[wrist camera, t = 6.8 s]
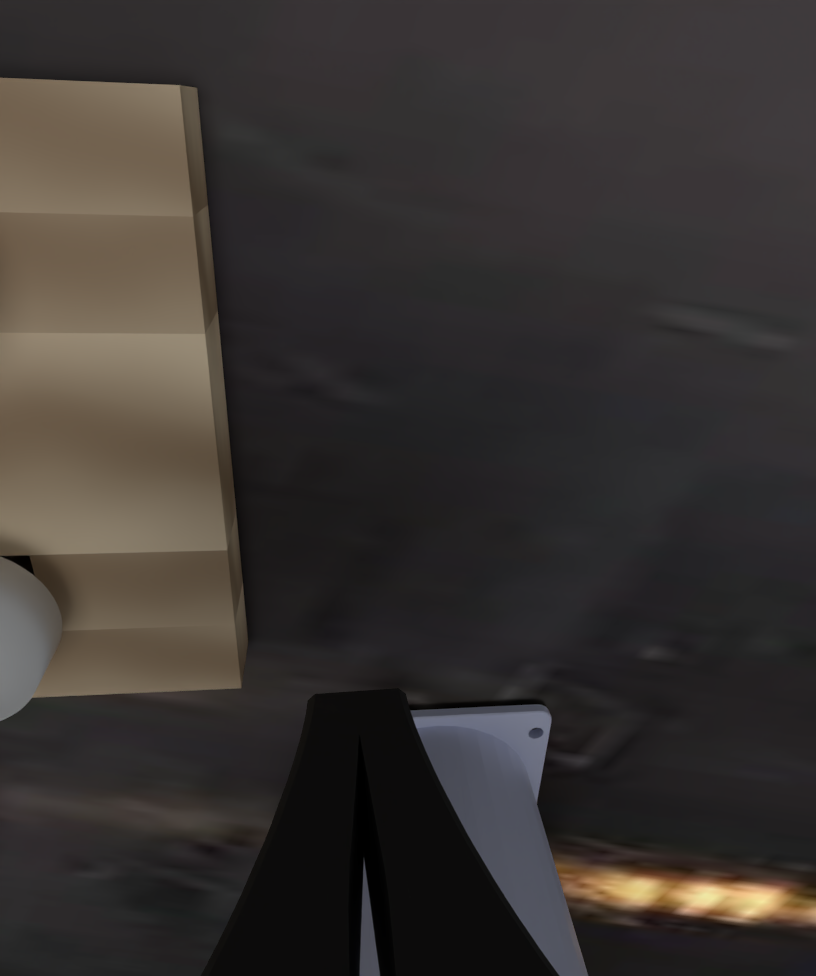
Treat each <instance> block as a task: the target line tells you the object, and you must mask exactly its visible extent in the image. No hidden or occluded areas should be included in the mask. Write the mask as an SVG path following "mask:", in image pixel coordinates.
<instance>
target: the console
mask: <svg viewBox="0 0 816 976" xmlns="http://www.w3.org/2000/svg"><path fill="white" fill-rule="evenodd" d="M18 555H29V556H30V560H31V563H32V567H33V571H34V575H35V577H36V578H37V579H38V580H40V581H41V582H42V583H43V584H44V586H45V587H46V588H47V589H48V590H49V592H50V593H51V594H52V596H53V597H54V599H55V601H56V603H57V605H58V607H59V610H60V613H61V618H62V635H61V640H60V642H59V645H58V647H57V649H56V651H55V653H54V655H53V657H52V659H51V661H50V663H49V665H48V667H47V669H46V671H45V673H44V675H43V677H42V679H41V681H40V683H39V685H38V687H37V689H36V691H35V693H34V695H33V696H32V698H34V697H56V696H79V695H101V694H124V693H146V692H168V691H191V690H213V689H235V688H241V687H242V680H243V674H244V667H245V660H246V654H247V647H248V633H247V623H246V612H245V601H244V590H243V579H242V569H241V558H240V547H239V536H238V525H237V514H236V504H235V493H234V482H233V471H232V460H231V449H230V439H229V428H228V417H227V406H226V395H225V384H224V374H223V363H222V352H221V341H220V330H219V320H218V309H217V298H216V287H215V276H214V265H213V255H212V244H211V233H210V222H209V211H208V200H207V190H206V179H205V168H204V157H203V146H202V136H201V125H200V114H199V103H198V92H197V88H195V87H188V86H181V85H161V84H138V83H114V82H90V81H66V80H42V79H18V78H0V556H18Z"/></svg>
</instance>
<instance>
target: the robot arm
mask: <svg viewBox="0 0 816 976" xmlns="http://www.w3.org/2000/svg"><path fill="white" fill-rule="evenodd" d="M550 726H551V715H550V712H549V710H548V709H547V707H545V706H543V705H539V704H532V705H511V706H491V707H471V708H450V709H430V710H410V708H409V705H408V701H407V697H406V694H405V693H404V692H402V691H401V690H400V689H398V688H397V689H383V690H368V691H354V692H339V693H325V694H315V695H314V696H313V697H311V698H310V699H309V700H308V704H307V711H306V717H305V721H304V726H303V730H302V734H301V738H300V742H299V746H298V749H297V753H296V756H295V759H294V762H293V765H292V768H291V772H290V775H289V778H288V781H287V784H286V786H285V789H284V792H283V794H282V797H281V800H280V803H279V805H278V808H277V811H276V813H275V816H274V819H273V821H272V824H271V827H270V829H269V832H268V834H267V837H266V839H265V842H264V844H263V846H262V849H261V851H260V853H259V855H258V858H257V860H256V862H255V865H254V867H253V869H252V871H251V874H250V876H249V878H248V881H247V883H246V885H245V887H244V890H243V892H242V894H241V896H240V899H239V901H238V903H237V905H236V907H235V909H234V911H233V913H232V915H231V918H230V920H229V922H228V924H227V926H226V928H225V930H224V932H223V934H222V936H221V938H220V940H219V942H218V944H217V946H216V948H215V950H214V952H213V954H212V956H211V958H210V959H209V961H208V963H207V965H206V967H205V969H204V971H203V973H202V975H201V976H588V974H587V970H586V967H585V964H584V960H583V957H582V954H581V950H580V947H579V944H578V940H577V937H576V934H575V930H574V927H573V924H572V920H571V917H570V913H569V910H568V907H567V903H566V900H565V897H564V893H563V890H562V887H561V883H560V880H559V877H558V873H557V870H556V867H555V863H554V860H553V857H552V853H551V850H550V847H549V843H548V840H547V837H546V833H545V830H544V827H543V823H542V820H541V817H540V813H539V810H538V807H537V799H538V793H539V788H540V782H541V777H542V771H543V765H544V760H545V754H546V749H547V743H548V738H549V732H550ZM533 728H537V729H534V730H531V729H533Z"/></svg>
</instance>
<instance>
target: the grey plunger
mask: <svg viewBox="0 0 816 976" xmlns="http://www.w3.org/2000/svg"><path fill="white" fill-rule="evenodd" d="M61 635H62V618H61V613H60V610H59V607H58V605H57V603H56V601H55V599H54V597H53V596H52V594H51V593H50V592H49V590H48V589H47V588H46V587H45V586H44V584H43V583H42V582H41V581H40V580H38V579H37V578H36V577H35V575H34V571H33V567H32V563H31V560H30V556H29V555H18V556H0V721H1V720H4V719H6V718H8V717H10V716H12V715H13V714H15V713H17V712H18V711H19V710H20V709H22V708H23V707H24V706H25V705H26V704H27V703H28V702H29V701H30V699H31V698H32V696H33V695H34V693H35V691H36V689H37V687H38V685H39V683H40V681H41V679H42V677H43V675H44V673H45V671H46V669H47V667H48V665H49V663H50V661H51V659H52V657H53V655H54V653H55V651H56V649H57V647H58V645H59V642H60V640H61Z"/></svg>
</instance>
